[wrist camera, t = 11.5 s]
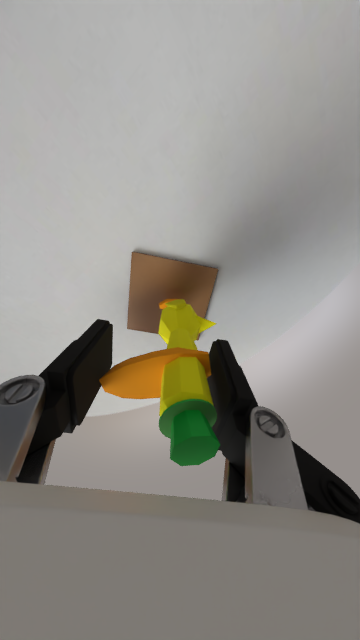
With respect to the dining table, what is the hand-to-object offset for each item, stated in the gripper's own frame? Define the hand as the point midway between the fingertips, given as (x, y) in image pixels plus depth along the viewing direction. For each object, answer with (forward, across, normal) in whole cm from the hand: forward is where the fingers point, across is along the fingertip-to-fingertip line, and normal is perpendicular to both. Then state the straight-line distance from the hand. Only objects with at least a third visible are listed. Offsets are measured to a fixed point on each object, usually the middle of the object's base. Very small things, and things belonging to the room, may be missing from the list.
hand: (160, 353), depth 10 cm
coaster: (+9, 0, 0) cm, 9 cm away
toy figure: (+7, 0, 0) cm, 7 cm away
